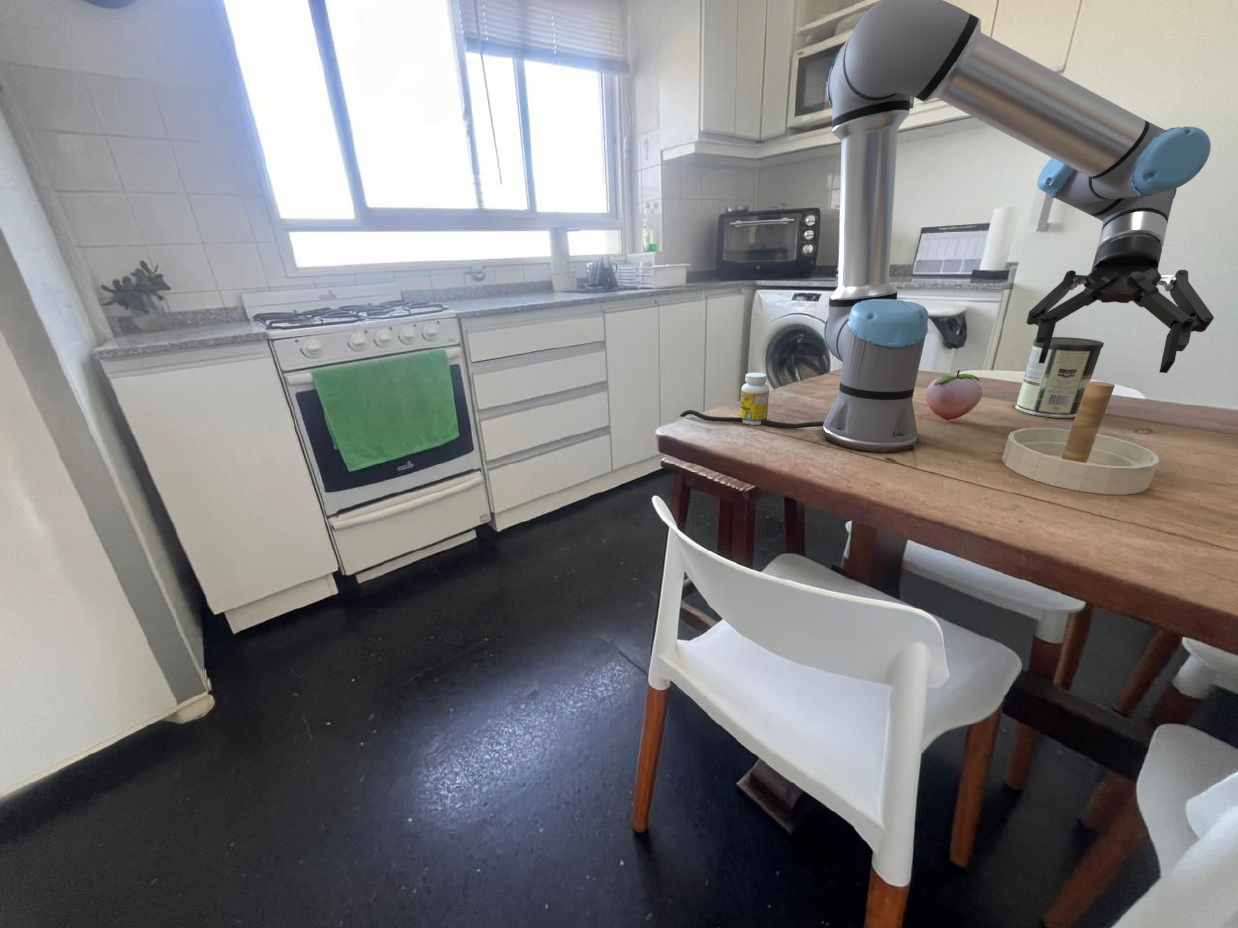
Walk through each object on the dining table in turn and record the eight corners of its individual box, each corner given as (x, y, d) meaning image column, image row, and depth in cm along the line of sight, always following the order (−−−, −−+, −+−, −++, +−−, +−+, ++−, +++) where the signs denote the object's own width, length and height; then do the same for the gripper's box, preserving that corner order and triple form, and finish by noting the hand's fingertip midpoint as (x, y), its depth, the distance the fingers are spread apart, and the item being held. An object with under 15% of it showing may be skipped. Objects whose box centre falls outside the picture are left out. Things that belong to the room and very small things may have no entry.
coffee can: (1051, 403, 105) (1072, 335, 99) (1093, 417, 95) (1120, 344, 90) (1002, 404, 105) (1021, 337, 100) (1039, 419, 96) (1062, 345, 90)
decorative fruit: (944, 411, 102) (956, 363, 98) (982, 423, 95) (996, 371, 91) (909, 417, 99) (919, 368, 95) (945, 429, 92) (958, 376, 88)
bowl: (1015, 487, 69) (1024, 458, 67) (991, 448, 83) (998, 423, 81) (1171, 507, 63) (1186, 475, 61) (1117, 461, 76) (1128, 434, 74)
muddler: (1054, 474, 71) (1084, 386, 66) (1044, 461, 76) (1071, 378, 70) (1098, 479, 69) (1133, 389, 64) (1085, 466, 74) (1117, 380, 69)
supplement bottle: (771, 423, 98) (776, 376, 95) (747, 426, 97) (750, 378, 93) (758, 416, 103) (761, 370, 99) (734, 419, 102) (737, 373, 98)
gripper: (1234, 267, 74) (1214, 387, 69) (1024, 270, 88) (995, 368, 84) (1262, 228, 68) (1241, 355, 63) (1032, 237, 83) (1001, 341, 78)
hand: (1101, 362), depth 73 cm, fingers open, 13 cm apart
